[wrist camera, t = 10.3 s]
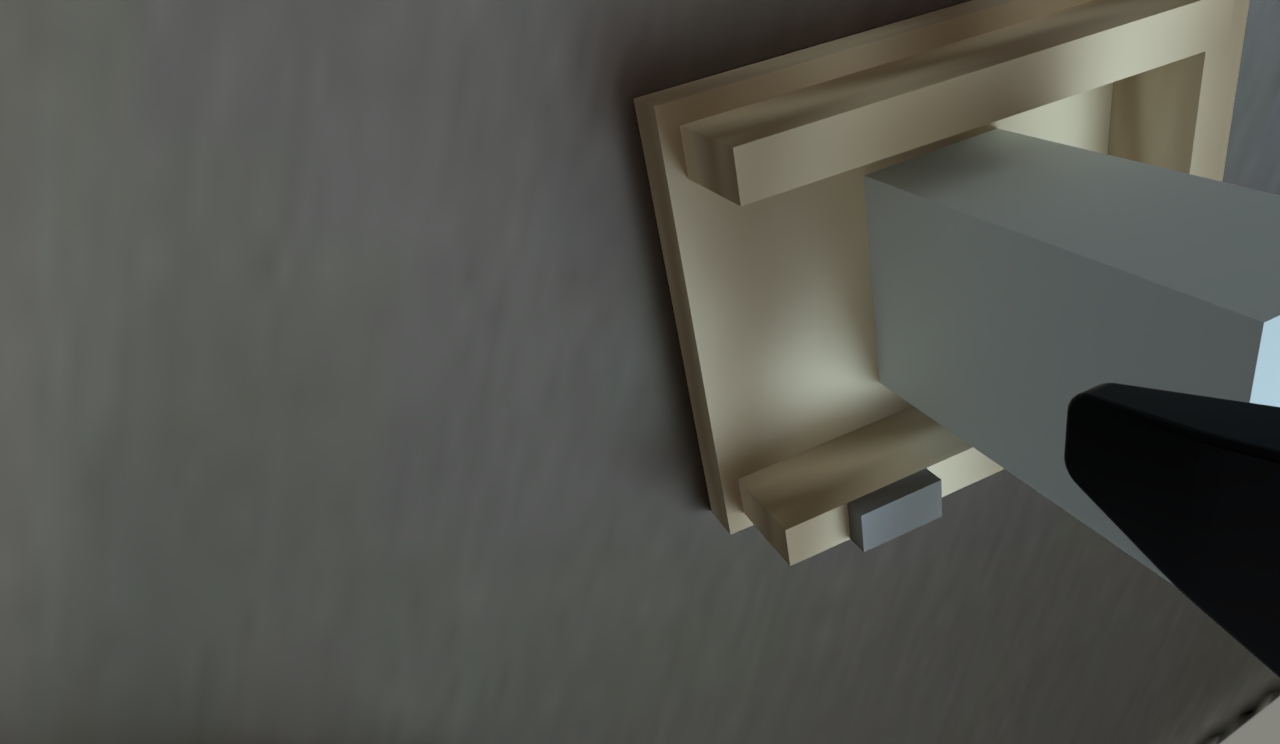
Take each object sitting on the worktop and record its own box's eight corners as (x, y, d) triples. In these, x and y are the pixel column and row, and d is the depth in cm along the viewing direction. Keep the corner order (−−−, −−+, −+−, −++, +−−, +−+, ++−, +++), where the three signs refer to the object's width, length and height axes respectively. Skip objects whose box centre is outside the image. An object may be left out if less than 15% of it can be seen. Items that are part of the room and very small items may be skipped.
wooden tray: (711, 511, 25) (787, 604, 22) (633, 98, 19) (719, 131, 16) (1088, 351, 29) (1207, 408, 25) (1119, -43, 23) (1282, -42, 19)
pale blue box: (879, 382, 24) (1211, 611, 16) (863, 175, 21) (1264, 322, 13) (995, 333, 25) (1368, 524, 17) (997, 128, 22) (1451, 236, 14)
